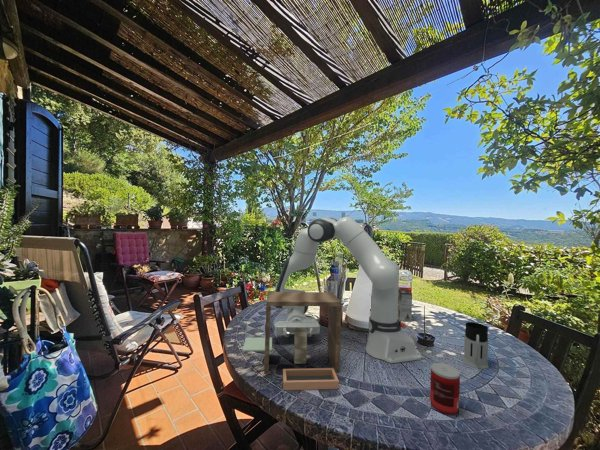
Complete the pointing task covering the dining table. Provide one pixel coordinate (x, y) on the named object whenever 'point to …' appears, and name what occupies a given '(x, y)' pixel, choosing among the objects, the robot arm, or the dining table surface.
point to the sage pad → (256, 344)
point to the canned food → (445, 388)
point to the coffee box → (405, 305)
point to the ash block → (300, 345)
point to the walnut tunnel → (308, 300)
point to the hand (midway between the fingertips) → (298, 334)
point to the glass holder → (476, 345)
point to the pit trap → (310, 379)
